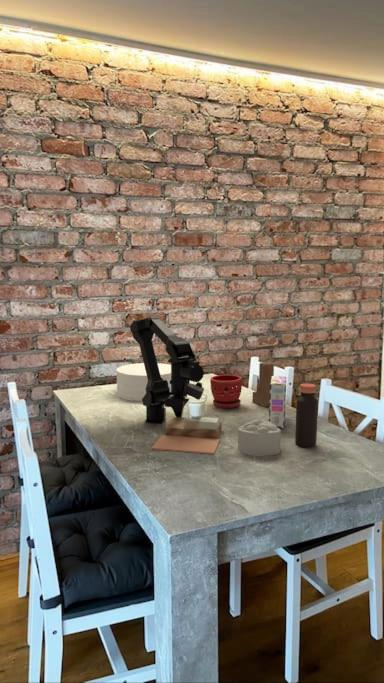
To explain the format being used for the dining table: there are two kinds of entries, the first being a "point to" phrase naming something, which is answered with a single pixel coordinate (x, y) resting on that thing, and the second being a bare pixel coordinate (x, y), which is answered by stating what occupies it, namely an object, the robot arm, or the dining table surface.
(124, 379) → the plate stack
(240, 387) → the plant pot
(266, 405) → the wooden block
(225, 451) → the dining table surface
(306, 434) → the bottle
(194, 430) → the walnut board
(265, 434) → the lumpy-topped squat cylinder
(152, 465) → the dining table surface
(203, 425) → the sage tile
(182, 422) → the maple tile
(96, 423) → the dining table surface
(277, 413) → the candy box
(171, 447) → the terracotta mat
